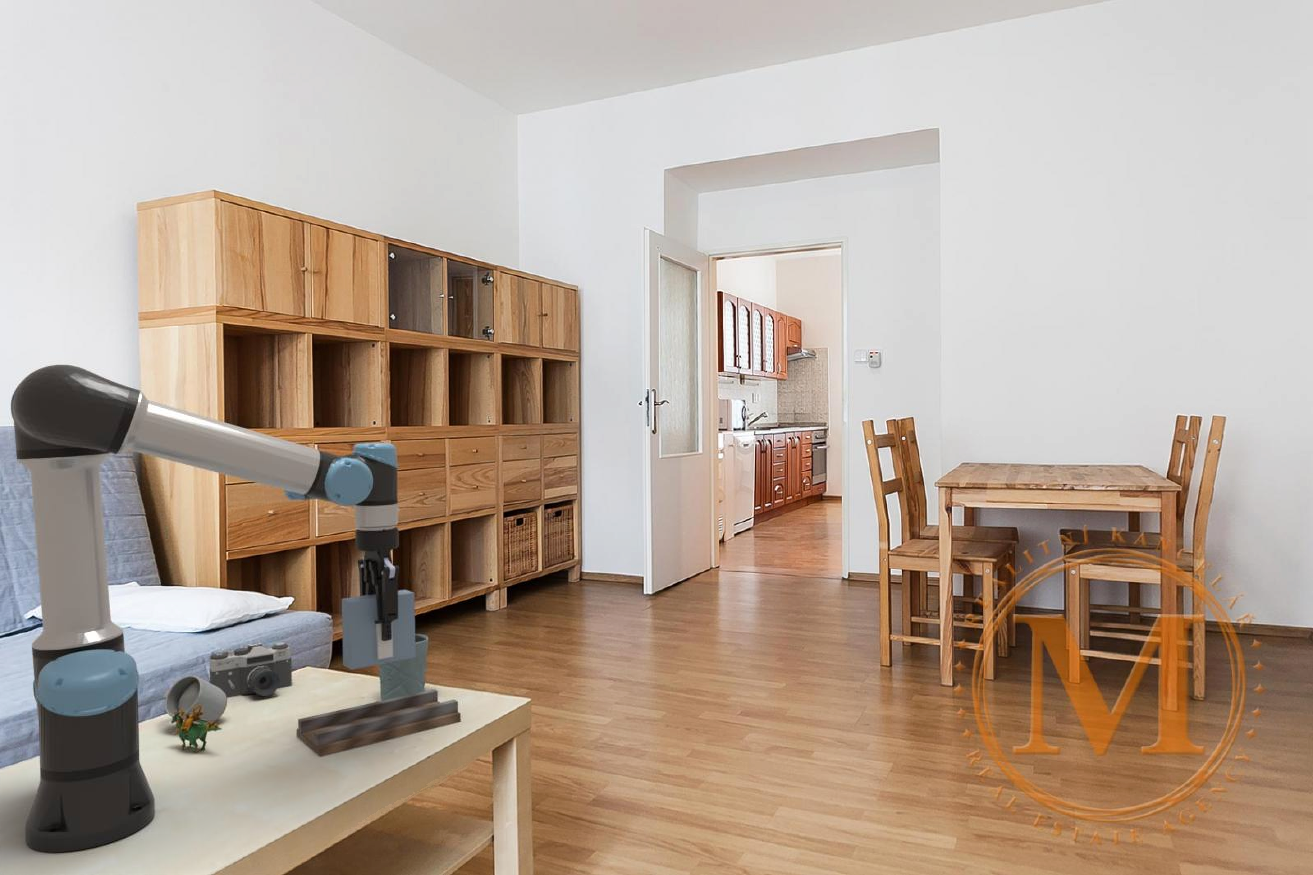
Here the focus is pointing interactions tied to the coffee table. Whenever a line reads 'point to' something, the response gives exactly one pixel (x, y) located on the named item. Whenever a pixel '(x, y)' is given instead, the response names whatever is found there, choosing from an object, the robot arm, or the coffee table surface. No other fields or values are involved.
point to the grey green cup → (405, 673)
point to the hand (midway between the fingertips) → (379, 654)
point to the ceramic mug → (195, 698)
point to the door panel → (363, 630)
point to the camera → (252, 670)
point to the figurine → (193, 728)
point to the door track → (376, 722)
